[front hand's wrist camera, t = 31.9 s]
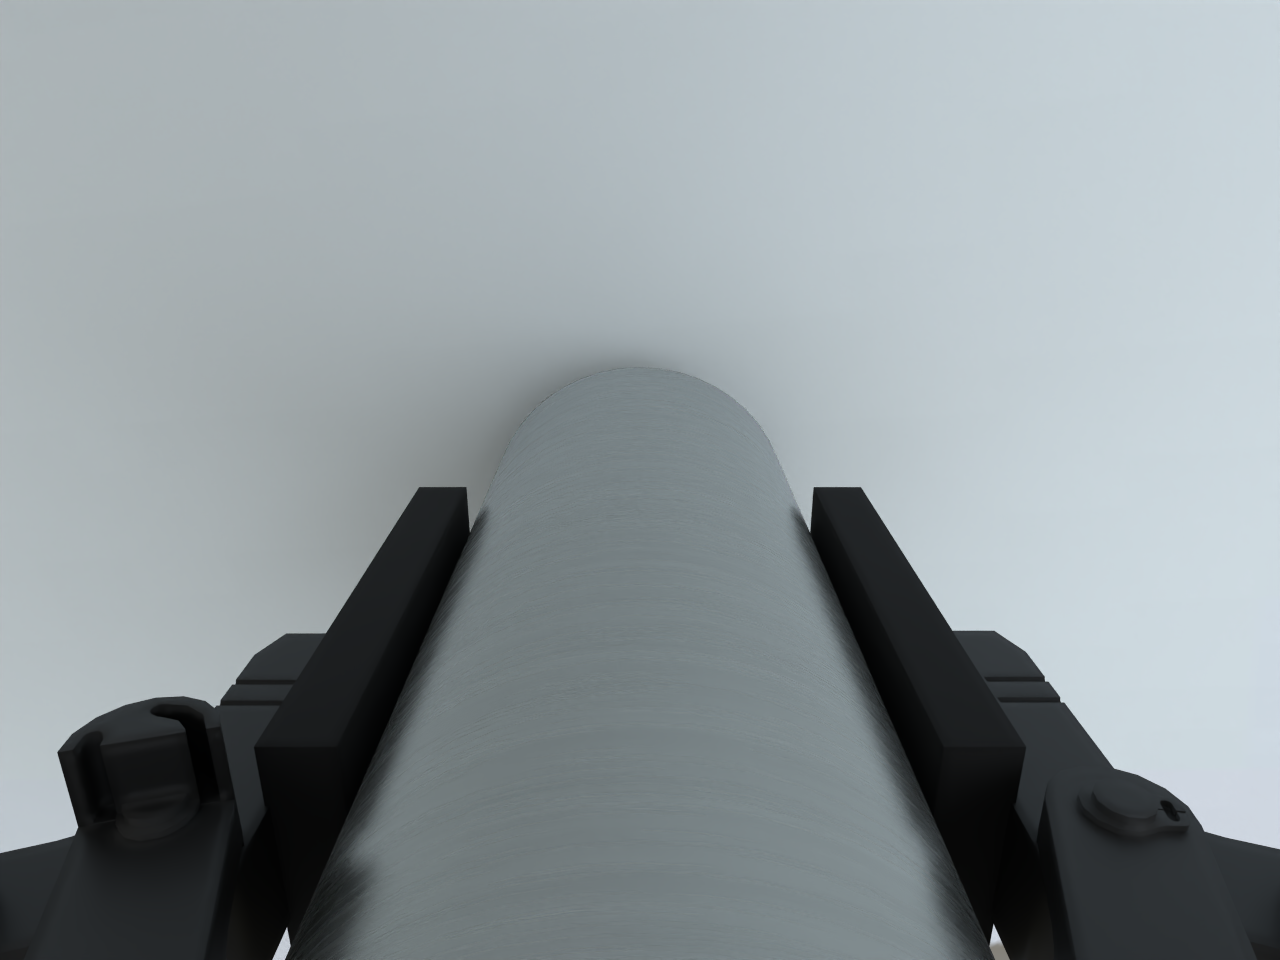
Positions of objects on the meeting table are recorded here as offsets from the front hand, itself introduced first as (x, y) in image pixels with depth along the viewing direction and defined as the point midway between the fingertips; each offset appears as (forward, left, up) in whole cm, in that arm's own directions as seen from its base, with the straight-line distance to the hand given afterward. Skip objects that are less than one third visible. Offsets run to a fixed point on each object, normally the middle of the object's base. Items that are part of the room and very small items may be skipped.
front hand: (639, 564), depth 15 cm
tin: (0, 0, -3) cm, 3 cm away
